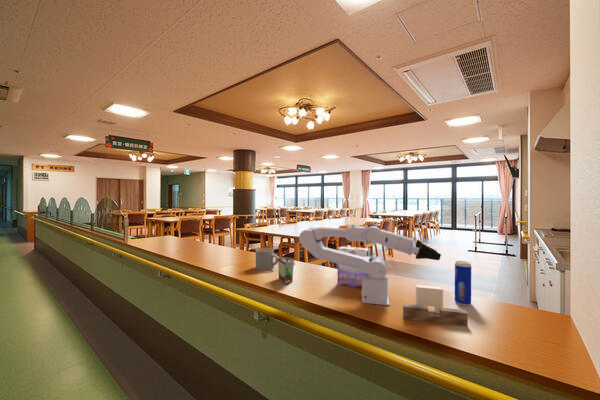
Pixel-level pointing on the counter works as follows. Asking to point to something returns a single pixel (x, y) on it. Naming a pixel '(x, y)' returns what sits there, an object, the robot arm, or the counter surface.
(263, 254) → the coffee mug
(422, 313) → the walnut slotted plate
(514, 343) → the counter surface
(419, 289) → the cream rectangular block
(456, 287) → the beverage can
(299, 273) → the counter surface
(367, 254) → the candy box
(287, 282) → the food container
